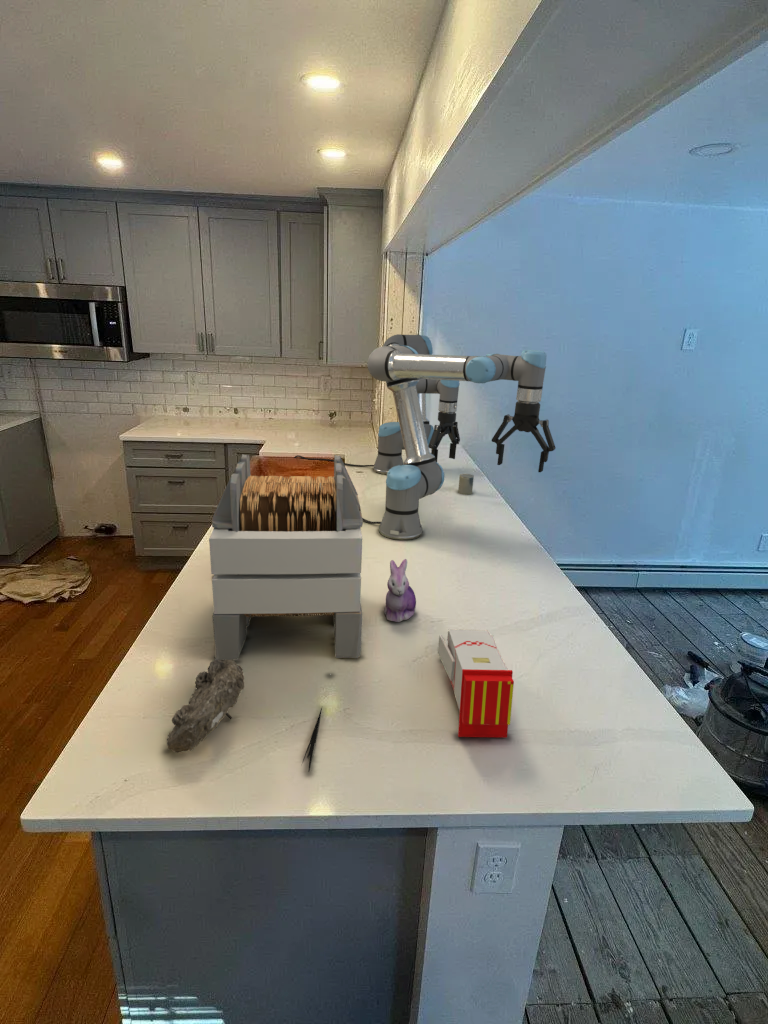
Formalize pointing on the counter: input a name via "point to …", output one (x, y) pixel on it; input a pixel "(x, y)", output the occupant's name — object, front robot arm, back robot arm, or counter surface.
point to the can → (465, 484)
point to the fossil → (206, 705)
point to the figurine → (399, 594)
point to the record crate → (286, 555)
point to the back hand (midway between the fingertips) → (443, 461)
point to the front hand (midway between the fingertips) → (519, 467)
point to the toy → (478, 682)
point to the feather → (313, 740)
